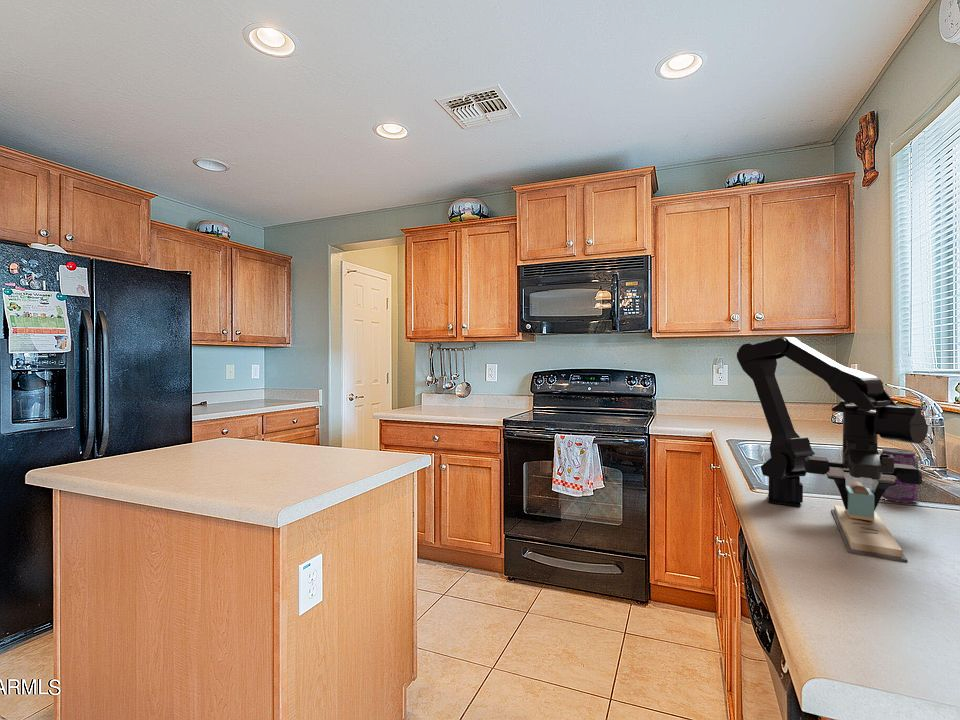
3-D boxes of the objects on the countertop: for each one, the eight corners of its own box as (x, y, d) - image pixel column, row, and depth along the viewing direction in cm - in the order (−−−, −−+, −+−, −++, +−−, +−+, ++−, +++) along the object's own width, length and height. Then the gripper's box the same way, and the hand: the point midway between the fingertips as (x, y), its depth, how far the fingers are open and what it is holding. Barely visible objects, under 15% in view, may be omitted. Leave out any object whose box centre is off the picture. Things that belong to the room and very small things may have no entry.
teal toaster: (849, 517, 100) (849, 487, 100) (844, 508, 106) (844, 479, 106) (874, 521, 98) (874, 489, 98) (868, 511, 104) (868, 482, 104)
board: (848, 552, 87) (848, 543, 87) (831, 510, 110) (831, 503, 110) (907, 562, 83) (907, 552, 83) (876, 516, 106) (876, 509, 106)
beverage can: (902, 496, 122) (903, 448, 122) (925, 505, 115) (926, 453, 115) (872, 495, 123) (872, 447, 122) (893, 504, 116) (893, 453, 115)
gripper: (808, 437, 99) (807, 514, 99) (931, 446, 90) (929, 531, 90) (804, 429, 109) (804, 499, 109) (915, 437, 99) (913, 514, 100)
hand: (858, 510), depth 102 cm, fingers closed on teal toaster, 4 cm apart
